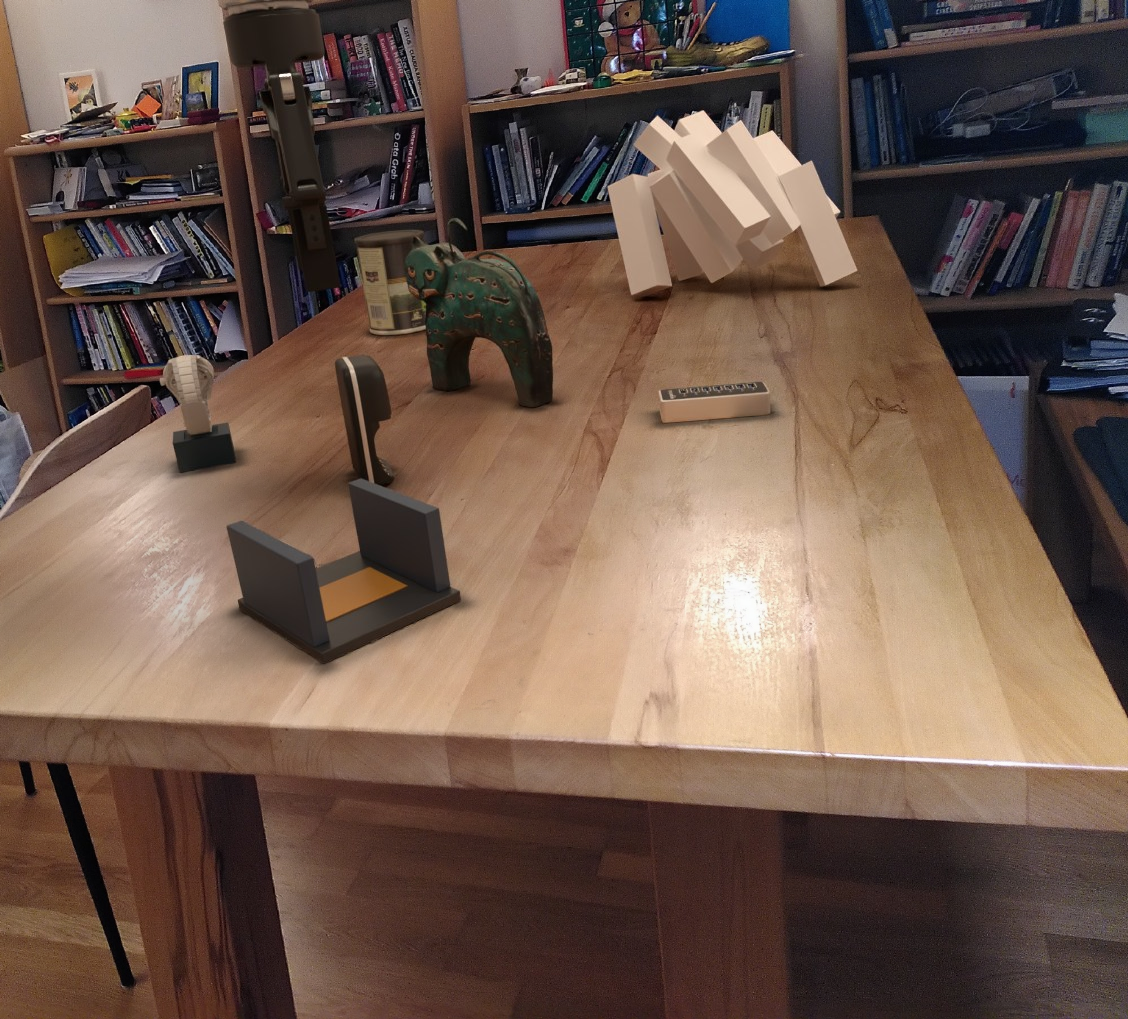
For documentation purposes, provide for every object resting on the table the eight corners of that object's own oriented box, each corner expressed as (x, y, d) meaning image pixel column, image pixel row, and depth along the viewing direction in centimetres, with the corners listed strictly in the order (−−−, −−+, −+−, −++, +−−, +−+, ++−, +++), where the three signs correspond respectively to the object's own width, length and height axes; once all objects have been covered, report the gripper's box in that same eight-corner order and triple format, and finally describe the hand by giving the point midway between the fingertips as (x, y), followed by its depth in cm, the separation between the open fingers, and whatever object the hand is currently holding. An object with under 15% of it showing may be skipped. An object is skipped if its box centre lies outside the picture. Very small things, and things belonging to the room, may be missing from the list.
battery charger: (405, 484, 96) (386, 363, 91) (363, 493, 95) (342, 370, 90) (391, 462, 102) (372, 347, 97) (352, 470, 101) (332, 354, 96)
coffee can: (443, 318, 165) (431, 227, 159) (425, 333, 155) (412, 237, 150) (381, 322, 167) (367, 231, 161) (360, 337, 157) (344, 242, 152)
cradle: (238, 609, 75) (218, 522, 72) (369, 556, 81) (354, 475, 79) (323, 664, 66) (304, 568, 64) (461, 600, 73) (448, 511, 70)
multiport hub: (771, 414, 105) (770, 392, 104) (662, 423, 106) (660, 401, 105) (764, 401, 109) (763, 380, 108) (659, 410, 110) (658, 389, 109)
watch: (233, 445, 112) (211, 344, 108) (236, 467, 105) (212, 360, 101) (179, 455, 110) (154, 353, 106) (178, 478, 103) (152, 370, 99)
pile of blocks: (843, 296, 178) (767, 108, 179) (887, 252, 149) (795, 26, 150) (653, 372, 180) (578, 185, 181) (659, 344, 150) (569, 121, 151)
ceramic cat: (416, 389, 126) (391, 219, 119) (457, 376, 130) (436, 211, 123) (529, 413, 113) (509, 223, 105) (570, 397, 117) (554, 214, 110)
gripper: (328, -10, 73) (377, 293, 81) (308, 18, 95) (348, 254, 103) (218, -2, 71) (279, 307, 79) (223, 25, 94) (271, 264, 102)
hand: (318, 277), depth 91 cm, fingers open, 13 cm apart
